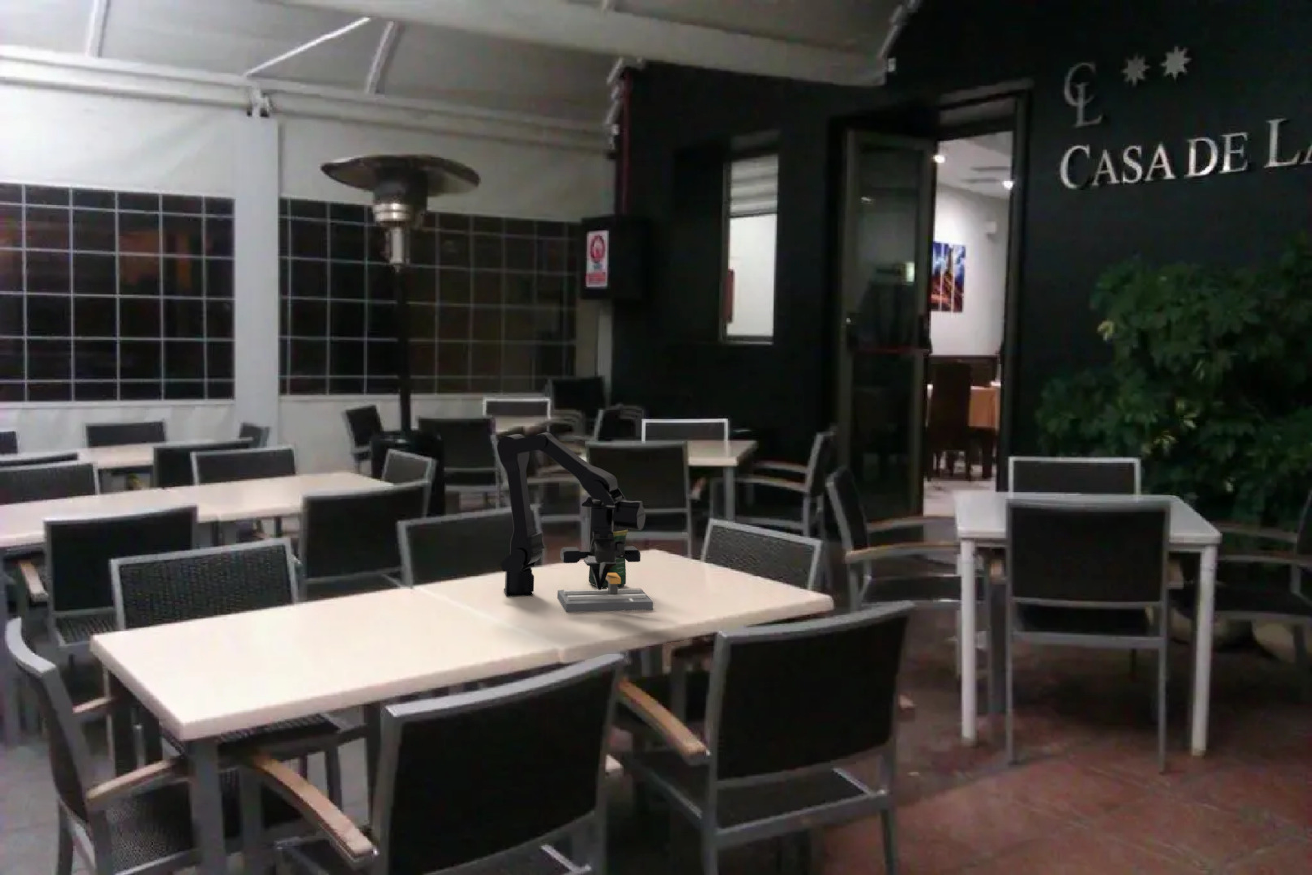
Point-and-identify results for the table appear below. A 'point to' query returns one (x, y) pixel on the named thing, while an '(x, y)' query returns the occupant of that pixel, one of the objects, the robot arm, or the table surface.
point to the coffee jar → (620, 567)
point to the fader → (613, 583)
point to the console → (604, 600)
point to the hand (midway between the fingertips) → (599, 589)
